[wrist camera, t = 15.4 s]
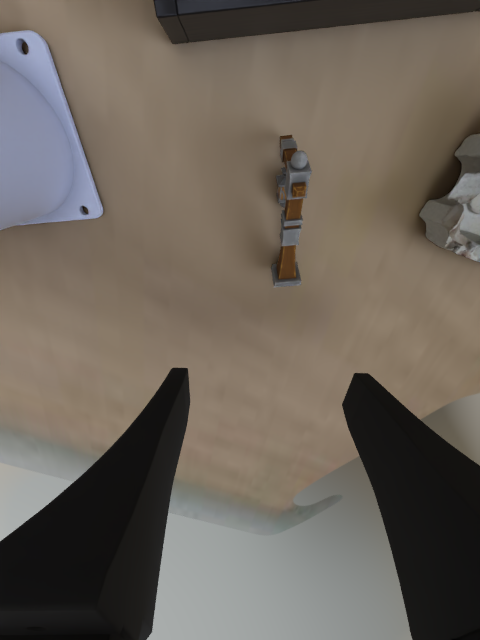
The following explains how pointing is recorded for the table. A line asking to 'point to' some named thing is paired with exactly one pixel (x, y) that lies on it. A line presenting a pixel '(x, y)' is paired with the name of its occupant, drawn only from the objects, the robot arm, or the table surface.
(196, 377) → the table surface
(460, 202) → the egg carton
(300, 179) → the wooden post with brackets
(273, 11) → the frame
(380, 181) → the table surface
